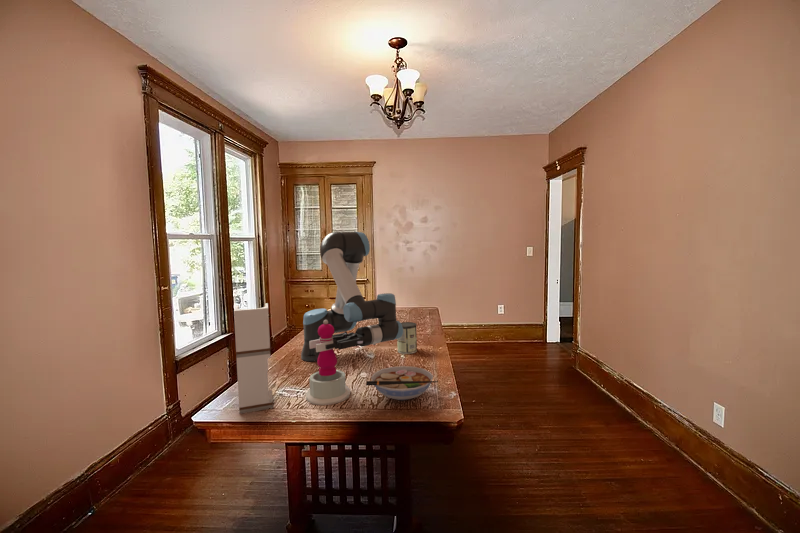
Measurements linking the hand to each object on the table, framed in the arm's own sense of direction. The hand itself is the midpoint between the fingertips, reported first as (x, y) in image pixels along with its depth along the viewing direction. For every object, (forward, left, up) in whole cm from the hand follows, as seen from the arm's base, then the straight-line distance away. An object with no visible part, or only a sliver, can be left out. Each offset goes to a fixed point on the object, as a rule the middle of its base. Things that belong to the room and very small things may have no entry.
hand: (313, 346), depth 131 cm
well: (0, +5, -20) cm, 20 cm away
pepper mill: (0, +5, -11) cm, 12 cm away
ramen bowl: (+18, +26, -20) cm, 37 cm away
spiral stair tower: (-10, -18, -20) cm, 28 cm away
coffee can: (-24, +61, -20) cm, 69 cm away
